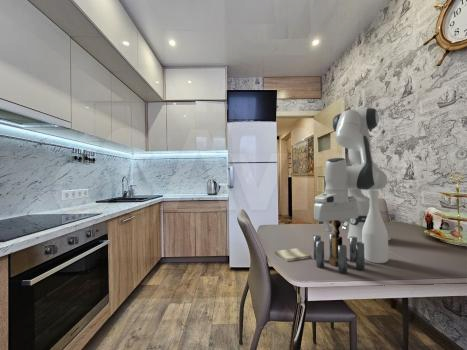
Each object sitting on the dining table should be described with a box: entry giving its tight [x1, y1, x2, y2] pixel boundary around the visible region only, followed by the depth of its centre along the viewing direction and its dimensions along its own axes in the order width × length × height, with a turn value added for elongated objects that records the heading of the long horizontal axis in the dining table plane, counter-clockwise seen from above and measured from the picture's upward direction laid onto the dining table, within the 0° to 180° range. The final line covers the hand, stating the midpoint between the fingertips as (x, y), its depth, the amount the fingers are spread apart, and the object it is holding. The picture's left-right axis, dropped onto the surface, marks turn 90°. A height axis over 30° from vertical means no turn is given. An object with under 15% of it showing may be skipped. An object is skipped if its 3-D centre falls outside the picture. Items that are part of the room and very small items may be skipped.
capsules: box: [313, 233, 366, 275], centre depth 97 cm, size 20×18×10 cm
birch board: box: [274, 247, 312, 262], centre depth 108 cm, size 12×11×1 cm
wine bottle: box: [361, 189, 389, 264], centre depth 101 cm, size 10×10×30 cm
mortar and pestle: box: [328, 220, 343, 267], centre depth 97 cm, size 7×6×18 cm
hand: (337, 230), depth 97 cm, fingers open, 7 cm apart
